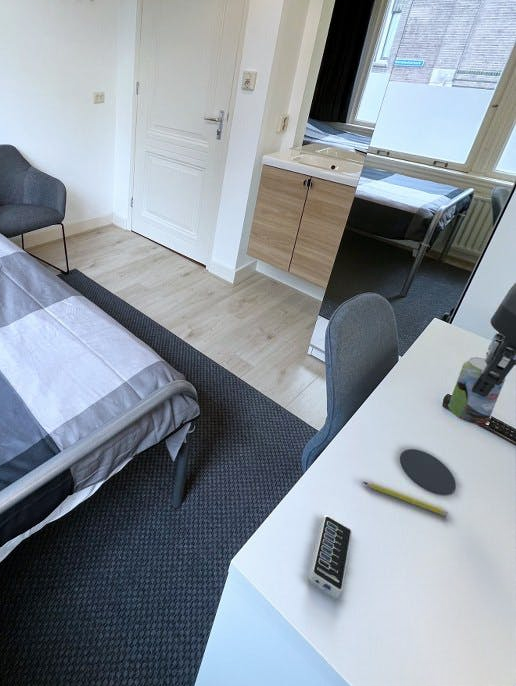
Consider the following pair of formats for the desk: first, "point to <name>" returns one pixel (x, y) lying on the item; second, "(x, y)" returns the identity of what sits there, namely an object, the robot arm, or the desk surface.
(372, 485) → the pencil
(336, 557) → the multiport hub
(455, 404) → the beverage can
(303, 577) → the desk surface
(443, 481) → the coaster
